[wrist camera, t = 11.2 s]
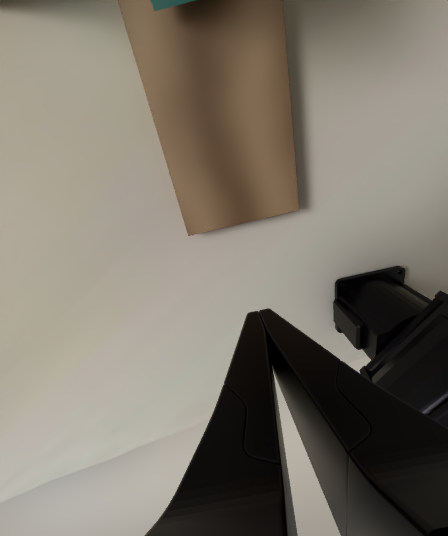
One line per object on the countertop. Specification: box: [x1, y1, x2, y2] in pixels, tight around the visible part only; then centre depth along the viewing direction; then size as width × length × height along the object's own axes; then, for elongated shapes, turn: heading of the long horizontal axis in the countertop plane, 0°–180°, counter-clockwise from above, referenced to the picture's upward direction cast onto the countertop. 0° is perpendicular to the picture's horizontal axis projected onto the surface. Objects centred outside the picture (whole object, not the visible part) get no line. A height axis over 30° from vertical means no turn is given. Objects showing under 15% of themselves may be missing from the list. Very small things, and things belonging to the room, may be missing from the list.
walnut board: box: [118, 0, 299, 236], centre depth 14 cm, size 9×20×1 cm, turn 13°
